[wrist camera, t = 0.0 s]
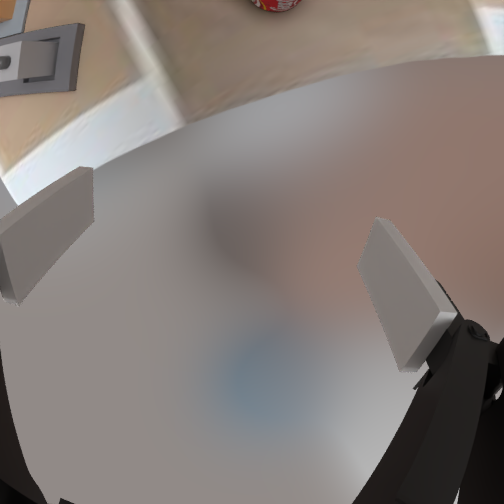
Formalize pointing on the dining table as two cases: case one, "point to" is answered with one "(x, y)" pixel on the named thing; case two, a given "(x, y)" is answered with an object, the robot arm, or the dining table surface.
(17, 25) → the mat
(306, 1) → the dining table surface
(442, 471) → the robot arm
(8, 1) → the plug
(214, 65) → the dining table surface
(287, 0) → the soda can
